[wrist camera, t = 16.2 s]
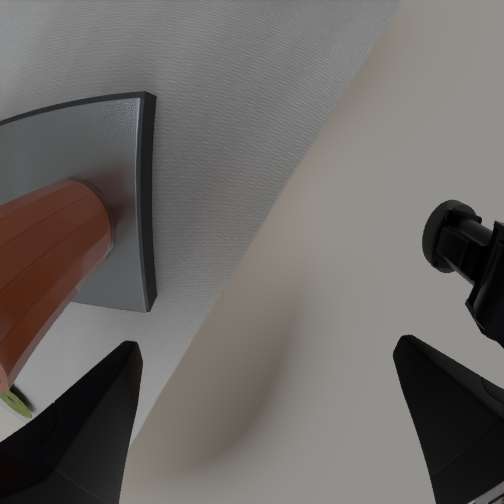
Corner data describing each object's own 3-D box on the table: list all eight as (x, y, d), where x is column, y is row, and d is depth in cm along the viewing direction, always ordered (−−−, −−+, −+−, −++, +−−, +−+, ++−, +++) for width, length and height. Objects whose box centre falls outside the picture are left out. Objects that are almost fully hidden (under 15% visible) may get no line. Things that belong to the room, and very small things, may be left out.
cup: (75, 158, 14) (-77, 217, 3) (130, 242, 17) (28, 381, 6) (25, 216, 15) (-83, 294, 4) (73, 286, 18) (-9, 398, 7)
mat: (12, 403, 34) (9, 409, 32) (-14, 368, 29) (-18, 374, 27) (44, 417, 34) (41, 424, 32) (16, 381, 29) (11, 389, 28)
